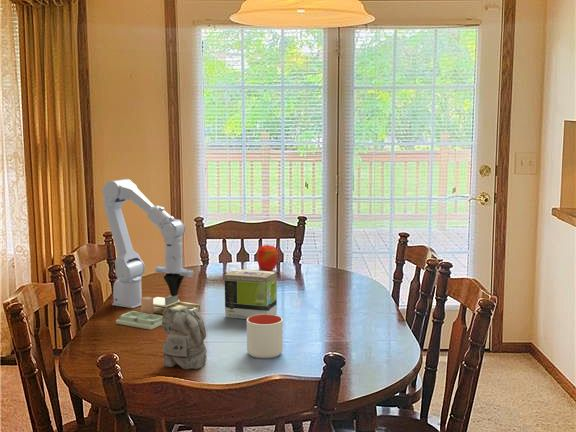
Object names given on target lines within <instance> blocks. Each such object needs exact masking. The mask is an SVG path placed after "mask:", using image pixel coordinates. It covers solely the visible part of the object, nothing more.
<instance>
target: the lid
mask: <svg viewBox="0 0 576 432" xmlns="http://www.w3.org/2000/svg"><path fill="white" fill-rule="evenodd" d="M178 302H181V300H180V299H179V294H178V295H176V296H171V294H170V295H167V296H165V297H163V296H162V297H161V296H156V297H153V306H156V307H162V308H166V307H168V306H170V305H173V304H175V303H178Z"/></svg>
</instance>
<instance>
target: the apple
mask: <svg viewBox="0 0 576 432" xmlns="http://www.w3.org/2000/svg"><path fill="white" fill-rule="evenodd" d="M278 260H279V252H278V248H276V247H275V246H273V245H269V244H265V245H261V246H260V247H258V249H257V251H256V261H257V265H258V267H259V269H261V271H273V270H274V269H275V268H276V266H277V264H278Z"/></svg>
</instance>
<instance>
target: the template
mask: <svg viewBox="0 0 576 432" xmlns="http://www.w3.org/2000/svg"><path fill="white" fill-rule="evenodd" d="M167 308H171V309H176V310H181V309H186V308H187V309H189V310H191V311H193V310H196V311H197V312H199V311H200V310H201V304H199V303H193V302H186V301H180V302H178V303H175V304H173V305H170V306H168V307H161V306H155V305H153V309H154V313H155V314H160V315H161V314H162V315H163V312H164V310H165V309H167Z"/></svg>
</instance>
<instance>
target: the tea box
mask: <svg viewBox="0 0 576 432" xmlns="http://www.w3.org/2000/svg"><path fill="white" fill-rule="evenodd" d="M277 295H278V293H277V271H273V270H272V271H263V270H255V269H242V268H241V269H240V268H239V269H238V268H235V269H233V270H232V271H229V272H228V273H226V274H224V310H225V312H224V313H225V314H224V315H225V318H231V319H242V320H243V319H244V320H247V318H249V317H251V316H254V315H261V314H270V315H276V316H277V311H278V310H277V309H278V307H277V305H278V304H277V303H278V302H277V301H278V300H277V299H278V298H277Z"/></svg>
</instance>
